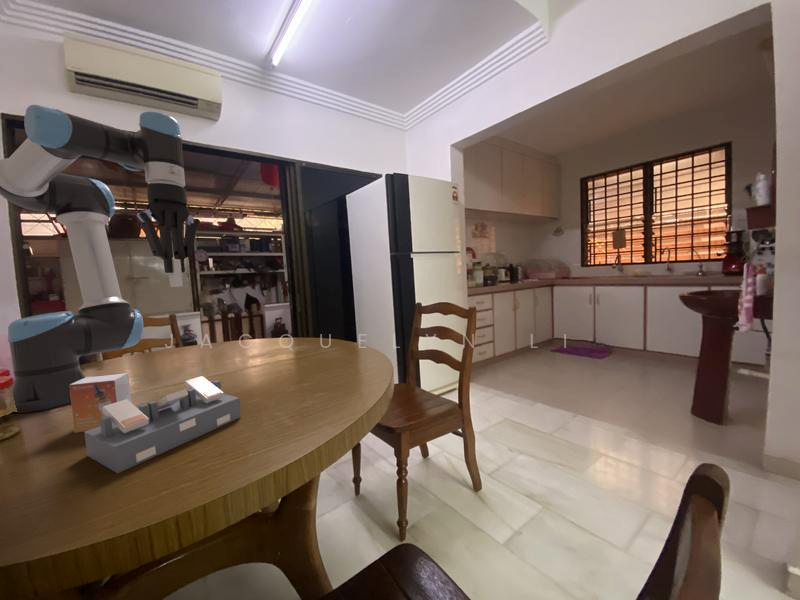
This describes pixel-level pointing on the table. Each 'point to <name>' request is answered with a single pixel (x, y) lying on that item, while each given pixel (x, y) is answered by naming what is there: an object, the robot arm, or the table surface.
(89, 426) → the small box
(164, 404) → the rocker
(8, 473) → the table surface
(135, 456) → the console
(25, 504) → the table surface
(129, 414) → the rocker
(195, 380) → the rocker
